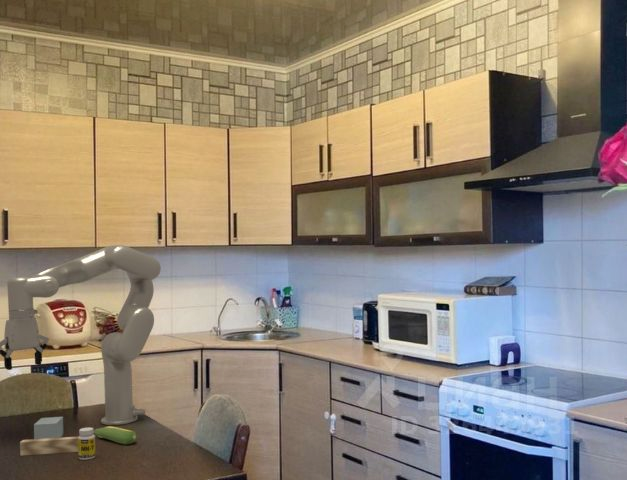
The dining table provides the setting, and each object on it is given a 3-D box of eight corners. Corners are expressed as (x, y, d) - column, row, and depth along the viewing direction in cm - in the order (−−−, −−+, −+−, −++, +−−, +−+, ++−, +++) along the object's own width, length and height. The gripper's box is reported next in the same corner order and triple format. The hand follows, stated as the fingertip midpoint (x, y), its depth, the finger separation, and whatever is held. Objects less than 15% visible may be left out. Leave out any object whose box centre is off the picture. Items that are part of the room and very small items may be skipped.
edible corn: (127, 447, 210) (127, 433, 210) (90, 438, 223) (89, 424, 223) (141, 443, 214) (140, 429, 214) (104, 434, 227) (103, 421, 227)
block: (63, 434, 229) (62, 416, 229) (56, 441, 220) (56, 423, 220) (41, 436, 228) (41, 418, 228) (34, 443, 219) (33, 424, 219)
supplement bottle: (79, 461, 198) (78, 432, 198) (77, 457, 202) (76, 428, 202) (96, 458, 200) (96, 429, 200) (94, 454, 204) (93, 426, 204)
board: (90, 448, 210) (90, 435, 210) (88, 451, 208) (88, 438, 208) (23, 453, 208) (22, 440, 208) (20, 455, 205) (20, 442, 205)
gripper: (41, 311, 232) (44, 361, 232) (-11, 317, 219) (-8, 370, 219) (52, 312, 227) (54, 363, 227) (-1, 318, 214) (1, 372, 214)
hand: (23, 366), depth 223 cm, fingers open, 9 cm apart
